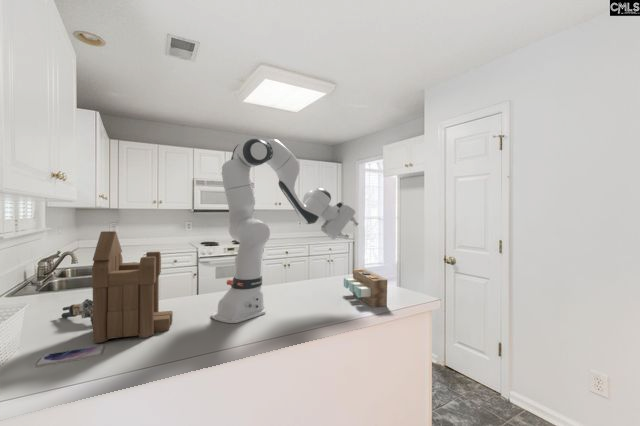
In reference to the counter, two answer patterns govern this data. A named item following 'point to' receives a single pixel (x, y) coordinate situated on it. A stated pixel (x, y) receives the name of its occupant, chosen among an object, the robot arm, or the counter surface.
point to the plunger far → (346, 281)
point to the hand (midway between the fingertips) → (352, 231)
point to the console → (373, 287)
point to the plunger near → (363, 291)
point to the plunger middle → (353, 286)
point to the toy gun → (80, 310)
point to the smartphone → (70, 356)
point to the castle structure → (125, 293)
